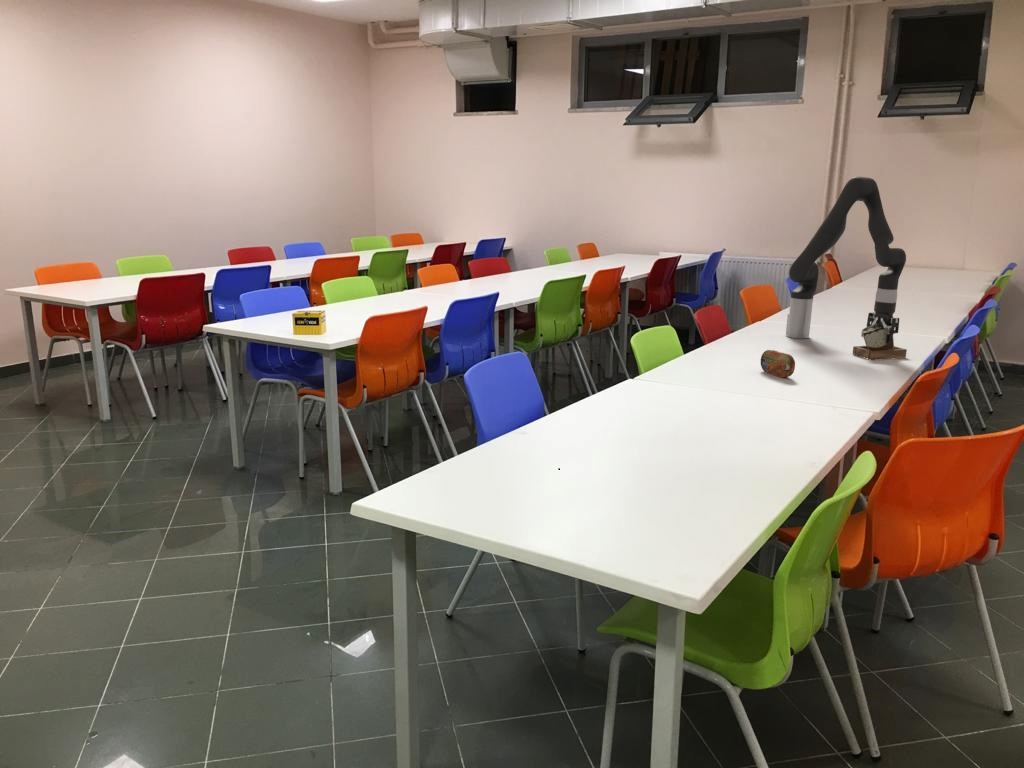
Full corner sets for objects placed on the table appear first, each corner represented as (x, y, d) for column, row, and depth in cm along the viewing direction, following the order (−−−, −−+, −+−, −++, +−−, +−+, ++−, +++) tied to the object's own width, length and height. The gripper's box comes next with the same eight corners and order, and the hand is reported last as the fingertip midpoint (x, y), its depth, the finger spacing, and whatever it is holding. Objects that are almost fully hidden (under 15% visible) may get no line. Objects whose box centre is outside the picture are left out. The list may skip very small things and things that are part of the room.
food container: (891, 344, 314) (886, 320, 312) (898, 347, 308) (893, 323, 306) (860, 353, 316) (855, 329, 313) (866, 356, 310) (861, 332, 307)
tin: (758, 370, 287) (761, 347, 285) (765, 369, 288) (767, 347, 286) (788, 380, 274) (790, 356, 272) (795, 379, 275) (797, 355, 273)
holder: (852, 354, 315) (853, 346, 314) (885, 352, 320) (886, 344, 319) (871, 360, 305) (872, 351, 304) (905, 357, 310) (906, 349, 309)
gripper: (864, 298, 312) (859, 338, 316) (891, 303, 299) (886, 345, 303) (880, 297, 314) (875, 337, 319) (907, 302, 301) (901, 344, 305)
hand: (880, 341), depth 311 cm, fingers open, 8 cm apart
